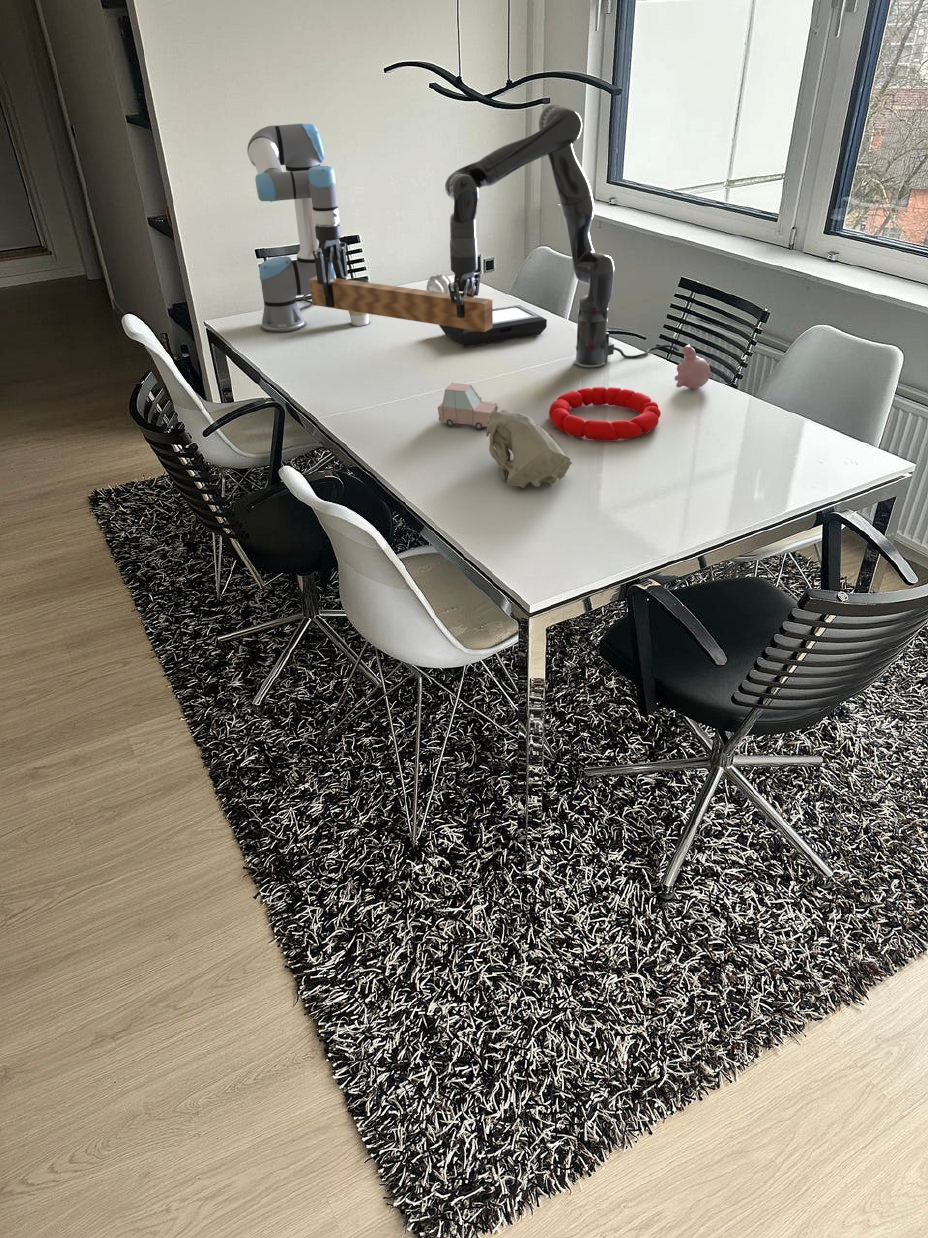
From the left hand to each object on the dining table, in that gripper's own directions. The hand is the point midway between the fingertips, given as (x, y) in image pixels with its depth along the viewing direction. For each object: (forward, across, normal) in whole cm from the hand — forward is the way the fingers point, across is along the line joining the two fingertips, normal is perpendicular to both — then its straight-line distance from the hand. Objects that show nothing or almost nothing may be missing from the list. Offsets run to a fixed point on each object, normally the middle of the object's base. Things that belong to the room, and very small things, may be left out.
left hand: (335, 303), depth 279 cm
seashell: (+20, +77, +11) cm, 81 cm away
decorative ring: (+18, -5, -95) cm, 97 cm away
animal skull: (+18, -43, -90) cm, 102 cm away
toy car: (+19, -24, -63) cm, 70 cm away
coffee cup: (+20, +39, +22) cm, 49 cm away
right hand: (-3, 0, -48) cm, 48 cm away
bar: (0, 0, -24) cm, 24 cm away
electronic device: (+19, +48, -28) cm, 60 cm away
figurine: (+19, +30, -107) cm, 113 cm away
